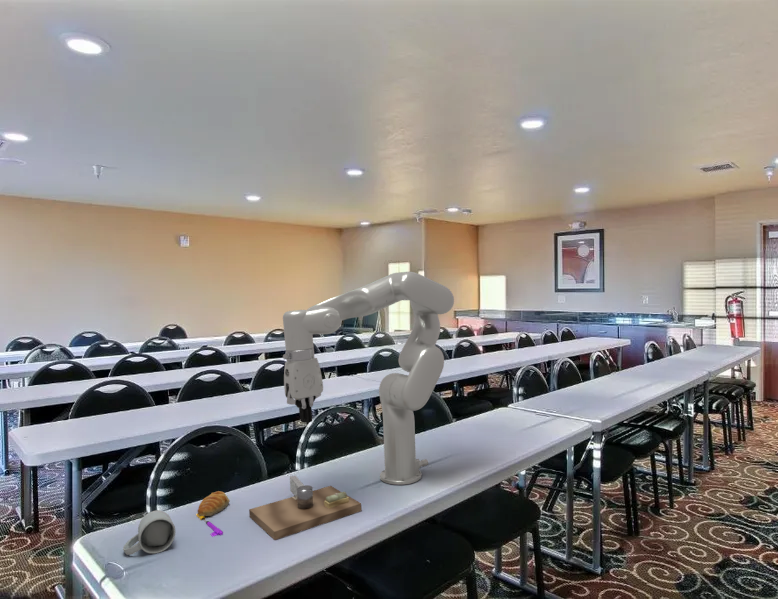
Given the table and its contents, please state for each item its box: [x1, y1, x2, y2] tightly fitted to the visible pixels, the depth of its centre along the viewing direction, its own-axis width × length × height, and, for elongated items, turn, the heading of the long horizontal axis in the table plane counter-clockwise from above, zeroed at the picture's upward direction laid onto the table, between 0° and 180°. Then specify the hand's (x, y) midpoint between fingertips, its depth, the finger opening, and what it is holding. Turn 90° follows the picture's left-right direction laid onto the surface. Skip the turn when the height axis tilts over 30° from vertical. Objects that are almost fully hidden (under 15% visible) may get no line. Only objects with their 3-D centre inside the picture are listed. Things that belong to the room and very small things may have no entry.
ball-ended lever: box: [289, 475, 314, 509], centre depth 138 cm, size 14×4×4 cm, turn 26°
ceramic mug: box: [122, 509, 176, 556], centre depth 119 cm, size 11×8×8 cm
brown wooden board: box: [248, 485, 362, 541], centre depth 133 cm, size 24×16×5 cm, turn 126°
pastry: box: [197, 490, 231, 517], centre depth 138 cm, size 9×7×4 cm
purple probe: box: [195, 513, 224, 538], centre depth 129 cm, size 3×1×16 cm
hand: (306, 421), depth 141 cm, fingers closed
